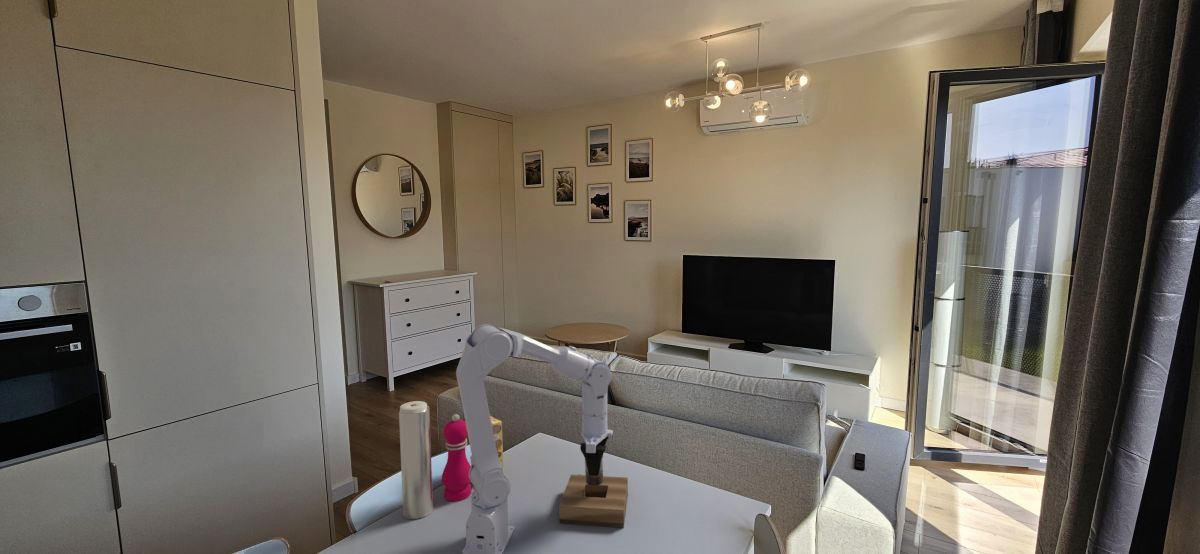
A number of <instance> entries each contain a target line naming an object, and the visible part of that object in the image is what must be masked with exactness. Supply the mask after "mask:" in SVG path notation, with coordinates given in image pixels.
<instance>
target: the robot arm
mask: <svg viewBox="0 0 1200 554" xmlns="http://www.w3.org/2000/svg"><path fill="white" fill-rule="evenodd" d="M464 344H465V345H464V348H463V351H462V354H461V356H460V359H459V362H458V364H457V368H456V370H455V374H456V375H455V376H456V381H457V387H458V390H459V397H460V401H461V406H462V411H463V417H464V421H465V422H466V428H467V433H468V436H467V437H468V441H469V447H470V453H471V454H470V466H471V468H470V471H469V479H470V481H471V482H470V484H471V485H472V486H473V487H474V488H473V490H472V492H471V495H470V496H471V497H470V498H471V501H470V502H471V511H470V514H469V516H468V518H467V520H466V523H465V542H466V543H465V546H464V547H463V549H462V551H461V554H503V553H504V551H505V549H506V547H507V545H508V544H509V542H510V540H511V537H512V535H513V533H514V531H515V529H516V528H515V526H514V525H509V511H508V510H509V509H508V497H509V495H510V493H511V482H510V480H509V478H508V477H507V476H506V475H505V473H503V472H504V468H503V469H502V465H501V463H500V460H499V457H498V454H497V450H496V445H495V440H494V434H493V429H492V424H491V418H490V416H491V413H490V409H489V403H488V398H487V397H488V396H487V393H486V386H485V381H484V380H485V378H486V377H487V375H489V373H490V372H491V371H492V370H494V369H495V368H496V367H498V366H499V365H500V364H502V363H504V362H505V360H507V359H508V358H509V357H512V358H515V357H518V356H519V355H521V354H525V355H527V356H529V357H533V358H536V359H538V360H541V361H545V362H547V363H548V364H549V363H550V364H551V366H552V370H553V371H554V372H556V373H559V374H562V375H564V376H567V377H569V378H571V379H575V380H577V381H581V388H582V389H581V391H582V392H581V396H582V397H581V403H582V404H581V406H582V407H581V409H582V410H581V412H582V415H581V416H582V417H581V418H582V421H581V423H582V428H581V436H582V438H583V440H584V442H581V443H580V446H579V449H580V452H581V453H582V455H583V457H584V461H585V460H586V464H587V468H588V472H589V475H594V476H598V475H599V471H600V465H601V459H602V460H603V457H604V454H605V451H606V449H607V446H606V444H607V441H608V439H609V437H611V436H613V433H614V431H613V430H612V429H608V392H609V391H608V390H609V385H610V384H611V381H612V379H613V373H612V372H611V368H610V366H609V365H608V364H607V363H605V362H603V361H601V360H599V359H596V358H594V355H592V354H590V353H588V354H584V353H582V352H580V351H577V348H576V347H574V346H573V345H569V346H568V347H567V346H560V347H558V348H557V349H556V348H553V347H551V346H549V345H547V344H544V343H543V342H540V341H538V340H537V339H533V338H532V337H529V336H527V335H525V334H522V333H520V332H517V331H513V330H511V329H510V330H509V329H507V328H503V327H498V328H497V327H495V326H494V325H493V324H488V323H485V324H481V325H478V326H477V327H476V328H474V330H473V331H471V333H470V334H469V335H468V336H467V337H466V339H465V343H464ZM599 445H601V446H599Z"/></svg>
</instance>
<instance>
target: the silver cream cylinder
mask: <svg viewBox="0 0 1200 554" xmlns="http://www.w3.org/2000/svg"><path fill="white" fill-rule="evenodd" d="M430 412H431V411H430V405H428V404H427V402H425V401H421V400H420V401H419V400H414V401H409V402H406V403H403V404H401V405H400V406H399V412H398V418H399V421H398V422H399V443H400V445H399V446H400V467H401V469H400V470H401V471H400V472H401V474H400V475H401V492H402V493H401V494H402V495H401V496H402V516H403V517H404V518H405V519H407V520H418V519H419V518H420V519H423V518H426V517H427V516H429V515H430V514H431V513H432V512H433V511H434V500H433V498H434V497H433V475H432V473H433V472H432V446H431V444H432V443H431V417H430V416H431V415H430ZM420 519H419V520H420Z"/></svg>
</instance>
